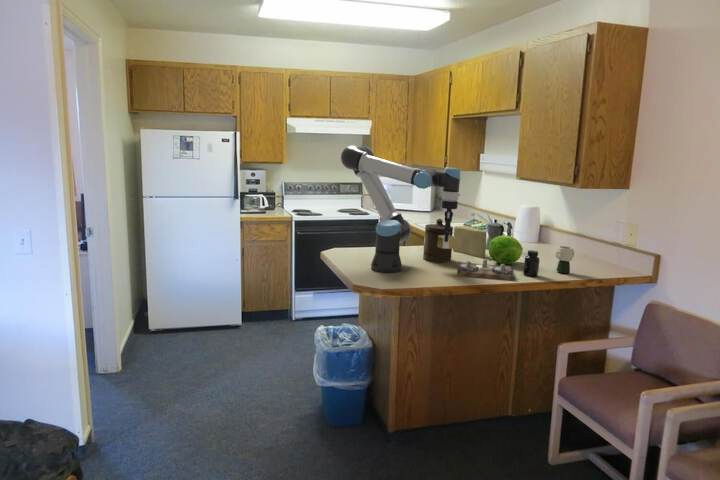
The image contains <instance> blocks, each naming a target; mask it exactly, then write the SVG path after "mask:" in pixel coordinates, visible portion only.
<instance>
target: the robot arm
mask: <svg viewBox="0 0 720 480" xmlns="http://www.w3.org/2000/svg"><path fill="white" fill-rule="evenodd" d="M340 161H341V163H342V165H343V167H345V168H346V169H348V170H352V171H353V173H354V175H355V176H356V177H358V178H360V180H361V182H362V184H363V185H364V187H365V190H366V192H367V193H368V196H369V197H370V199H371V202H372V204H373V205H374V207H375V210H376V211H377V213H378V216H379V217H380V221H378V222H377V224H376V228H375V250H374V251H375V253H374V256H373V258H372V261H371V264H370V269H371V270H372V269H373V270H372V271H374V270H375V272H378V271H379V272H378V273H385V272H386V273H387V274H388V273H390V274H392V273H400V272H401V271H402V270H403V263H402V259H401V256H400V247H401V246H400V245H401V244H403V242H405V241H407V240H408V239H409V237H410V236H411V233H412V231H411V230H412V228H411V225H410V223H409V222H408V220H406V219H404V217H403V215H402V213H401V212H398V211H397V210H396V208H395V206H394V203H393V202H392V200H391V198H390V197H389V194H388V193H387V190H386V188H385V187H384V185H383V182H382V181H381V178H380V176H382V177H385V178H388V179H391V180H396V181H397V182H398V181H399V182H402V183H406V184H409V185H412V186H415V187H416V188H419V189H422V190H425V189H427V188H431V187H437V188H442V196H441V199H442V200H441V208H442V209H445V210H446V211H444V225H445V231H444V233H443V235H444V240H443V248H447V249H448V248H449V237H450V232H451V230H450V226H451V224H452V221H453V216H454V212H453V210H457V209H458V204H459V202H458V200H459V196H460V193H459V192H460V184H461V183H460V182H461V169H460V168H459V167H458V168H457V167H445V168H444V170H443V171H440V170H429V169H417V168H414V167H410V166H408V165H404V164H401V163H397V162H393V161H390V160H386V159H384V158H383V159H382V158H379V157H376V156H375V154H374V152H373V151H372V149H371V148H369V147H368V146H366V145H363V144H362V145H361V144H359V145H349V146H347V147H345V148H343V150H342V152H341V154H340Z"/></svg>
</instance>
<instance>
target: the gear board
mask: <svg viewBox="0 0 720 480" xmlns="http://www.w3.org/2000/svg"><path fill="white" fill-rule="evenodd" d="M456 272H457V273H456V276H459V277H468V278H469V277H470V278H479V277H480V278H481V279H482V278H483V279H490V278H491V279H493V280H505V281H515V275H514V269H512V267H511V266H510V265H506V264H500V265H497V264H488V260H487V259H486V258H483V260H482V263H472V262H471V261H469V260H468V261H466V262H463V261H462V262H461V261H460V262H459V261H457V269H456Z"/></svg>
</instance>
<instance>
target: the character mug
mask: <svg viewBox="0 0 720 480" xmlns="http://www.w3.org/2000/svg"><path fill="white" fill-rule="evenodd" d="M574 257H575V250H574V247H572V246H566V245H559V246H558V248H557V251H556V253H555V258H556V259H558V260H559V261H558V263H557V266H556V267H557V268H556V272H559V273H560V274H561V273H563V274H569V273H570V272H571V271H570V270H571V264H570V262H572V261H573V258H574Z"/></svg>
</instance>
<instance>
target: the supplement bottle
mask: <svg viewBox="0 0 720 480" xmlns="http://www.w3.org/2000/svg"><path fill="white" fill-rule="evenodd" d="M538 256H539V251H537V250H532V249H531V250H527V255H526V256H525V257H524V265H523V273H522V274H523V275H524V276H525V277H530V278H536V277H538V276H539V266H540V257H538Z"/></svg>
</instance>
